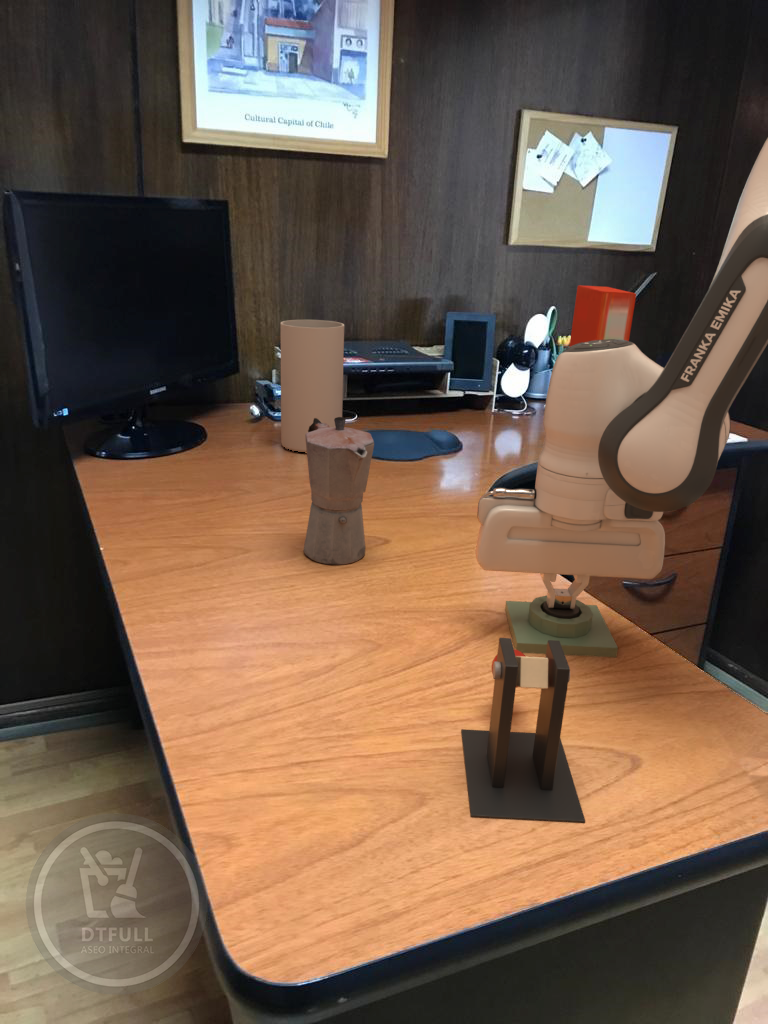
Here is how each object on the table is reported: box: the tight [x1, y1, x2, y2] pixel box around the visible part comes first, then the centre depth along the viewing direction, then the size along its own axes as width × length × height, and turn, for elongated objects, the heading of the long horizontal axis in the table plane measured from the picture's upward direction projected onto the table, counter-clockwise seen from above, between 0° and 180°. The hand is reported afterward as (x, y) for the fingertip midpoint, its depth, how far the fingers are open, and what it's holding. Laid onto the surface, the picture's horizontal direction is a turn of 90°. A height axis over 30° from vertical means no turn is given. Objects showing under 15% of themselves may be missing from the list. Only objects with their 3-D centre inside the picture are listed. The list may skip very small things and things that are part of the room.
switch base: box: [460, 637, 586, 824], centre depth 64 cm, size 11×9×13 cm
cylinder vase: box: [280, 319, 345, 453], centre depth 156 cm, size 12×12×25 cm
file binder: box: [569, 284, 637, 347], centre depth 184 cm, size 8×17×32 cm, turn 5°
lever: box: [491, 648, 548, 690], centre depth 67 cm, size 13×4×4 cm
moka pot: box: [303, 416, 375, 566], centre depth 107 cm, size 10×15×20 cm, turn 36°
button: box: [543, 601, 579, 619], centre depth 88 cm, size 4×4×2 cm
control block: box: [504, 594, 619, 658], centre depth 89 cm, size 11×10×4 cm
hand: (560, 606), depth 88 cm, fingers closed, pressing on button
